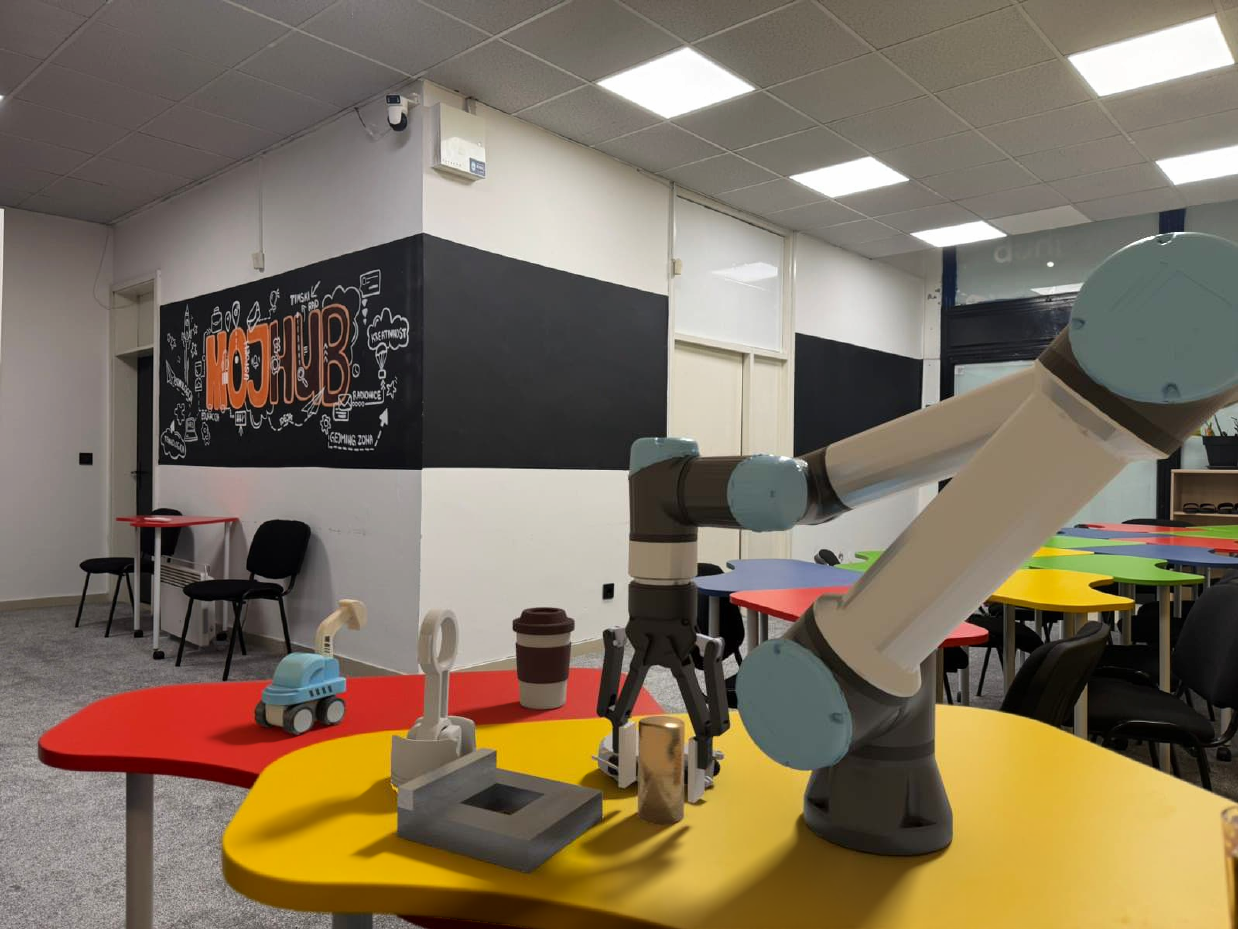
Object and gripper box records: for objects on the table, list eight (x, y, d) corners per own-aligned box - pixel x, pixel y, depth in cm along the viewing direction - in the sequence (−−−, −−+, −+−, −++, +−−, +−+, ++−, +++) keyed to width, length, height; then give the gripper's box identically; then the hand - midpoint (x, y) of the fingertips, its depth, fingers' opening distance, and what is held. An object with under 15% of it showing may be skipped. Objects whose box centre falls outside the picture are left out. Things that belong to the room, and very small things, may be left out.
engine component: (374, 793, 96) (456, 801, 94) (377, 615, 96) (458, 618, 94) (416, 761, 106) (490, 768, 104) (418, 601, 106) (492, 604, 104)
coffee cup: (512, 696, 138) (513, 605, 138) (572, 695, 139) (573, 605, 139) (511, 713, 128) (512, 615, 128) (575, 712, 129) (576, 615, 129)
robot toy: (725, 774, 106) (612, 754, 109) (728, 739, 106) (614, 719, 109) (710, 812, 94) (583, 787, 98) (713, 772, 94) (586, 749, 98)
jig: (602, 818, 89) (602, 772, 89) (528, 873, 77) (528, 819, 77) (482, 790, 97) (482, 747, 97) (397, 836, 84) (397, 787, 84)
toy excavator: (381, 712, 128) (382, 600, 128) (286, 741, 114) (288, 615, 114) (344, 703, 133) (345, 595, 133) (248, 730, 119) (250, 609, 119)
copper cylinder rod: (691, 811, 91) (691, 720, 91) (672, 828, 87) (673, 732, 87) (650, 802, 94) (650, 713, 94) (629, 818, 89) (630, 725, 89)
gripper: (764, 582, 89) (762, 797, 89) (598, 570, 99) (596, 763, 98) (740, 590, 82) (738, 822, 82) (564, 577, 92) (562, 784, 92)
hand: (660, 790), depth 90 cm, fingers open, 8 cm apart
